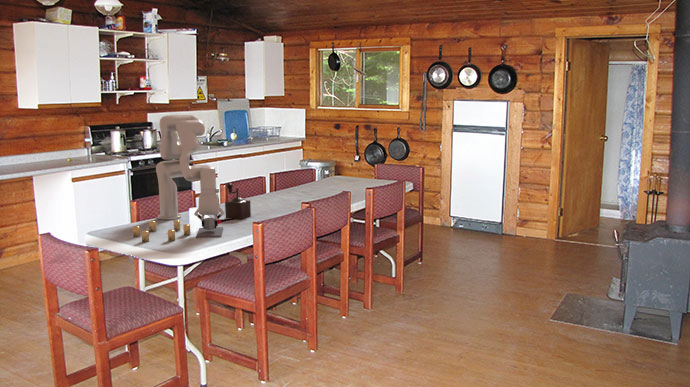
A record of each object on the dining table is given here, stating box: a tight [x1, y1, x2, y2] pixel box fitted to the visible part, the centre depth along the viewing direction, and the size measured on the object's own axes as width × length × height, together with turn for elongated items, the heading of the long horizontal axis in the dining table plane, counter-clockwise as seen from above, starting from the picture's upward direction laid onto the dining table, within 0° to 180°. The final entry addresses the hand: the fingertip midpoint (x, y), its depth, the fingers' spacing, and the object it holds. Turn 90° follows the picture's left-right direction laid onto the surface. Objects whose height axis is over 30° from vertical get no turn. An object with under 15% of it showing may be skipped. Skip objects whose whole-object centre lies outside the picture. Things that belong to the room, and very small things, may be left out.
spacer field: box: [132, 219, 191, 243], centre depth 302 cm, size 24×27×5 cm
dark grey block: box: [204, 217, 215, 230], centre depth 307 cm, size 6×5×5 cm
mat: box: [195, 226, 224, 239], centre depth 308 cm, size 18×12×1 cm, turn 8°
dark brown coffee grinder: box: [224, 183, 252, 221], centre depth 344 cm, size 16×11×18 cm
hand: (209, 227), depth 307 cm, fingers closed on dark grey block, 5 cm apart
